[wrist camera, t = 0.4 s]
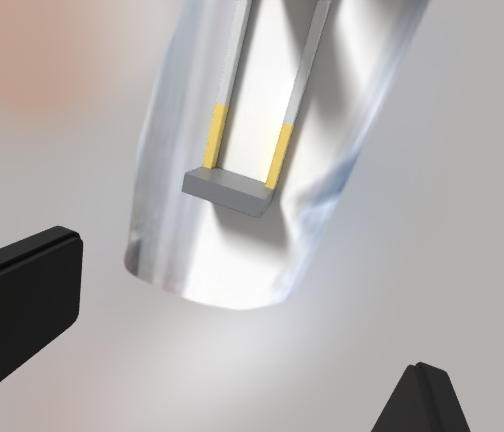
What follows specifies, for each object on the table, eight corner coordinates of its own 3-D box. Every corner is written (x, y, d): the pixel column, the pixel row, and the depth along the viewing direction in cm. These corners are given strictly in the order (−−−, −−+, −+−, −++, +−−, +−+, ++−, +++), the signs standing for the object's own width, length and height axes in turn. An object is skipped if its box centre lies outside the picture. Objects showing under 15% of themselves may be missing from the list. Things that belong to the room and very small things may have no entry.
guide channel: (263, -101, 30) (245, -149, 24) (356, -84, 28) (359, -130, 23) (204, 180, 39) (181, 191, 34) (271, 202, 38) (258, 218, 32)
